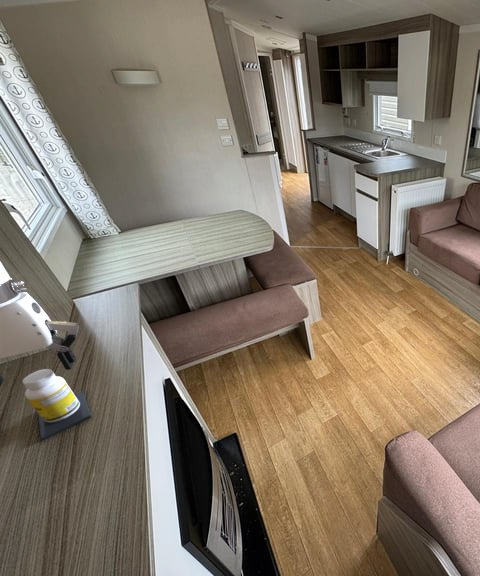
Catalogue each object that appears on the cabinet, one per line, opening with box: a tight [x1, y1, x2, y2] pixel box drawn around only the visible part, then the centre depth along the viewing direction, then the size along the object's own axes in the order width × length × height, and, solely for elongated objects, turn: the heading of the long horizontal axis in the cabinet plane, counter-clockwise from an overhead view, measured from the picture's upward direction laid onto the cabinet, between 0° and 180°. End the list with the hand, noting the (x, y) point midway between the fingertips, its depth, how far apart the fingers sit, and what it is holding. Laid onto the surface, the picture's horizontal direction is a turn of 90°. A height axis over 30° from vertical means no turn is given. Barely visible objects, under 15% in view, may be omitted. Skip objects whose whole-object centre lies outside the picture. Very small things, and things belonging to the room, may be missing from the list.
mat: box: [37, 390, 92, 441], centre depth 62 cm, size 10×7×1 cm
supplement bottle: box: [21, 368, 80, 422], centre depth 59 cm, size 5×5×10 cm
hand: (36, 375), depth 57 cm, fingers open, 9 cm apart
